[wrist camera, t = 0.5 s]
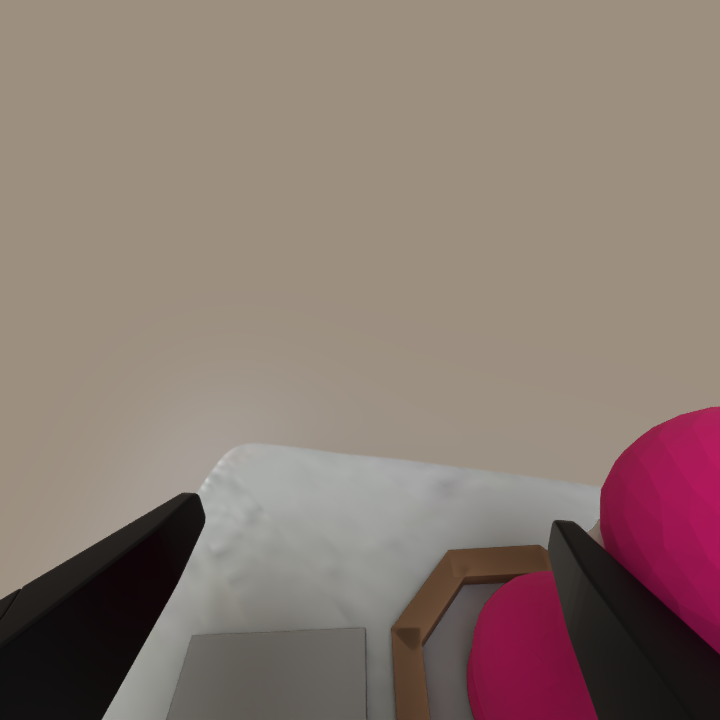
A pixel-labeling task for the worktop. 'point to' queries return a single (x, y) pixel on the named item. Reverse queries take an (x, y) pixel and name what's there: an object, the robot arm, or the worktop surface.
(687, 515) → the pepper mill
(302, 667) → the slate mat
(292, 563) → the worktop surface
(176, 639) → the worktop surface
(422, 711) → the walnut holder ring
